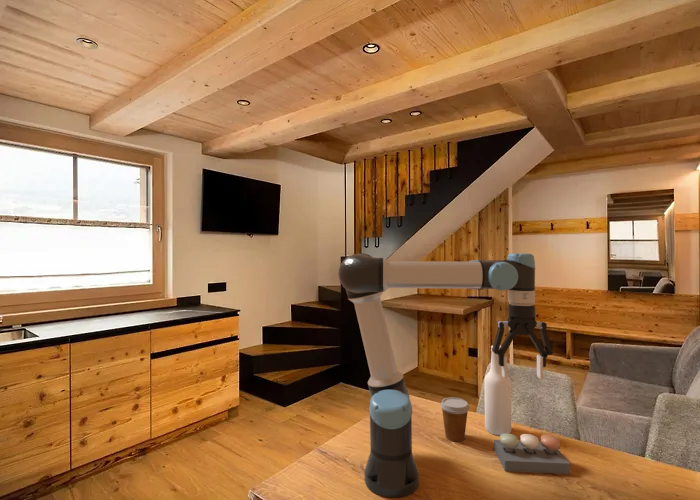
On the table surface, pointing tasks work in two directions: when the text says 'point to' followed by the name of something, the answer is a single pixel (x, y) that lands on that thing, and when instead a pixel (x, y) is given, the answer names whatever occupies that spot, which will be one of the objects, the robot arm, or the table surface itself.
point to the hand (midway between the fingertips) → (522, 377)
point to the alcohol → (497, 399)
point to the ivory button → (529, 442)
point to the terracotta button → (550, 443)
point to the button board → (531, 460)
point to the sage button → (509, 442)
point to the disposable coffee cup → (454, 418)
